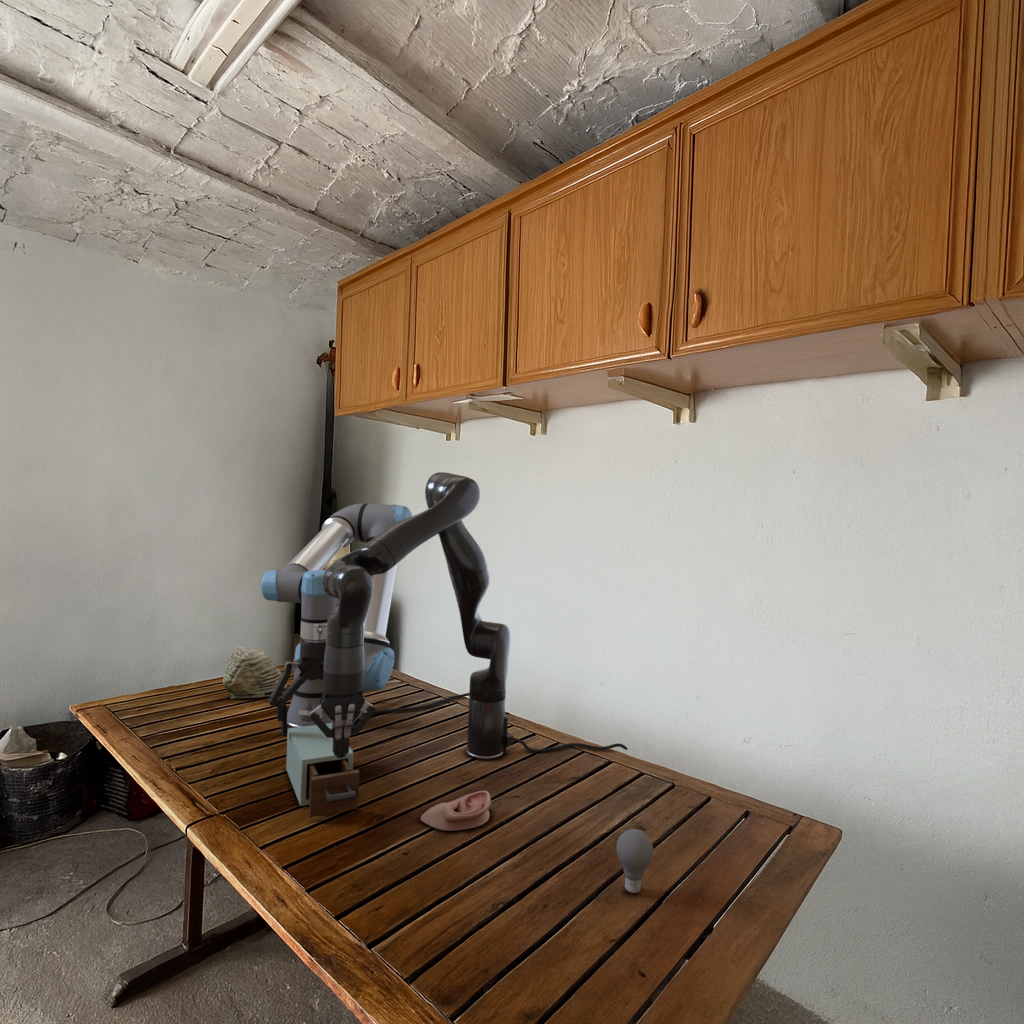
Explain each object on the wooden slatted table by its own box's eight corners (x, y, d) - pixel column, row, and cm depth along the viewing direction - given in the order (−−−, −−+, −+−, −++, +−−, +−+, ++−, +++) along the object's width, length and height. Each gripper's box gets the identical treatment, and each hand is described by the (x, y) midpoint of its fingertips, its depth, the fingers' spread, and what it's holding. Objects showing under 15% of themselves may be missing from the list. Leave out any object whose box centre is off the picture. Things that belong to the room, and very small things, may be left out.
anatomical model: (415, 806, 123) (434, 781, 134) (414, 826, 123) (433, 799, 134) (481, 816, 120) (495, 789, 132) (480, 836, 120) (494, 808, 132)
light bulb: (610, 879, 108) (613, 822, 108) (644, 879, 109) (647, 822, 109) (619, 902, 102) (622, 840, 102) (655, 901, 103) (658, 840, 103)
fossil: (218, 695, 195) (220, 647, 195) (278, 685, 208) (279, 640, 207) (228, 703, 189) (230, 653, 188) (289, 692, 201) (290, 645, 201)
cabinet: (351, 797, 134) (353, 752, 134) (300, 806, 129) (302, 760, 129) (332, 762, 151) (333, 722, 151) (286, 769, 146) (287, 728, 146)
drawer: (365, 821, 123) (366, 783, 122) (315, 831, 118) (317, 791, 118) (338, 773, 143) (339, 740, 143) (295, 779, 139) (296, 746, 139)
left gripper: (261, 647, 136) (258, 744, 137) (375, 638, 147) (372, 728, 148) (257, 639, 142) (255, 732, 143) (367, 631, 154) (364, 717, 155)
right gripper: (312, 675, 115) (308, 769, 116) (383, 669, 122) (379, 758, 122) (304, 665, 122) (301, 754, 122) (372, 659, 128) (369, 744, 129)
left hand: (315, 730), depth 146 cm, fingers open, 13 cm apart
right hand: (340, 756), depth 122 cm, fingers closed
